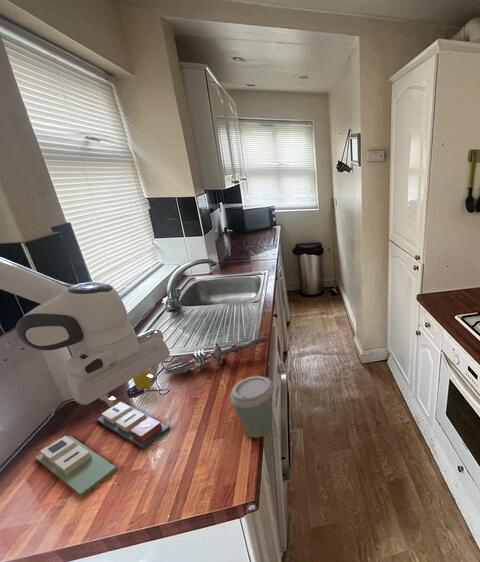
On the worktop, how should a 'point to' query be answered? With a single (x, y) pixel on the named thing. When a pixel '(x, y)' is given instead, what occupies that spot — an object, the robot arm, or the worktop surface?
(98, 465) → the green word strip
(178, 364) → the spaceship
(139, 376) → the lemon
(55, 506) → the worktop surface
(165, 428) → the strip
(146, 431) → the brown flat square block
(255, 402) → the disposable coffee cup
